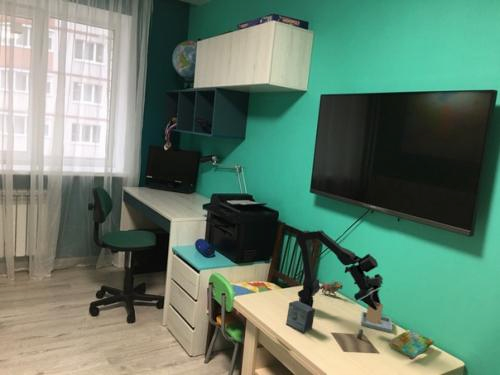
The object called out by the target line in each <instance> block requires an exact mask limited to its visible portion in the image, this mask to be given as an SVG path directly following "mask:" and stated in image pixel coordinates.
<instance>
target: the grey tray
mask: <svg viewBox="0 0 500 375" xmlns="http://www.w3.org/2000/svg"><path fill="white" fill-rule="evenodd" d="M366 315H367V311H361V315H360V317H361V318H360V319H361V320H360V326H361V327H365V328H369V329H373V330H378V331H382V332H385V333H386V332H387V333H390V334H392V333H393V324H392V323H393V322H392V318H390V317H387V316H383V315H381V320H380V321H381V322H382V324H381V325H380V324H374V323H371V322H369V321H366Z"/></svg>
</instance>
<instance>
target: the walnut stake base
mask: <svg viewBox="0 0 500 375" xmlns="http://www.w3.org/2000/svg"><path fill="white" fill-rule="evenodd" d="M363 333H364V329H362V328H358V331H357V333H347V332H330V334H331V335H332V337H333V339H334V340H335V341H336V343H337V344H338V346H339V347H340V348H341V350H342V351H343V353H361V354H362V353H363V354H364V353H365V354H379V355H380V354H381V352H380V351H379V350H378V349H377V348H376V347H375V345H374V344H373V343H372V342H371V340H370V339H369V338H368V337H367V336H366V335H365V334H363Z"/></svg>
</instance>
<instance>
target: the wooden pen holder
mask: <svg viewBox="0 0 500 375" xmlns="http://www.w3.org/2000/svg"><path fill="white" fill-rule="evenodd" d="M374 303H375V305H376V307H377V310H374V309H373V308H371V307H370V306H369V305H367V310H366V312H367V315H366V321H369V322H371V323H374V324H380V325H381V324H382V322H381V321H380V320H381V316H383V315H382V314H383V308H384V304H382V303H381V304H380V303H377V302H374Z"/></svg>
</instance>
